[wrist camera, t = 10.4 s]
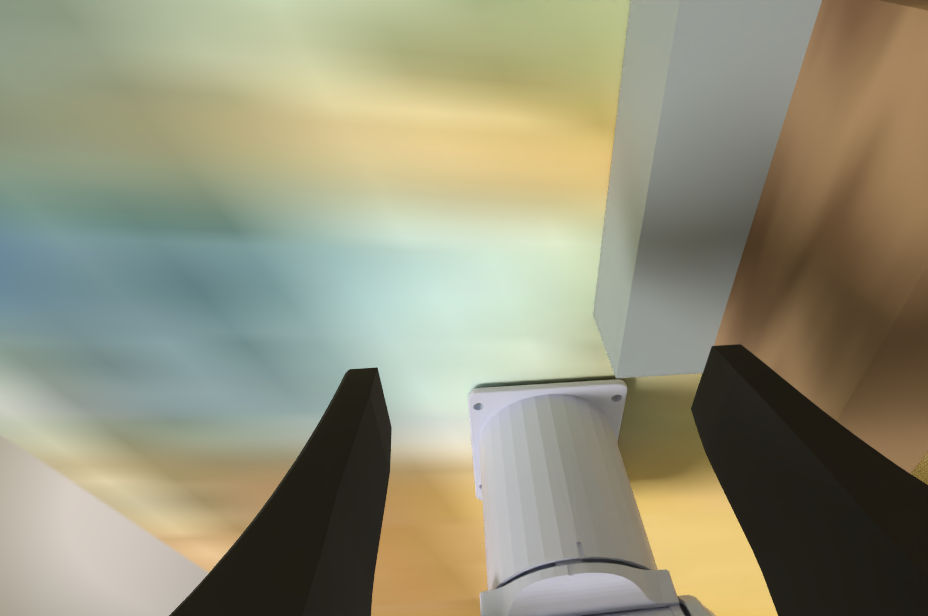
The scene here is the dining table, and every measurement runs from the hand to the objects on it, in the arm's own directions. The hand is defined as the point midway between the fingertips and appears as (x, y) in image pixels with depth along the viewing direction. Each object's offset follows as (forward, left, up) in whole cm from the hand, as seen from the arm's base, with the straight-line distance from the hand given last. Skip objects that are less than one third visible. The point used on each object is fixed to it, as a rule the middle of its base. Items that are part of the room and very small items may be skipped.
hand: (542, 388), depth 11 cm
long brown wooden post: (0, -9, -6) cm, 11 cm away
